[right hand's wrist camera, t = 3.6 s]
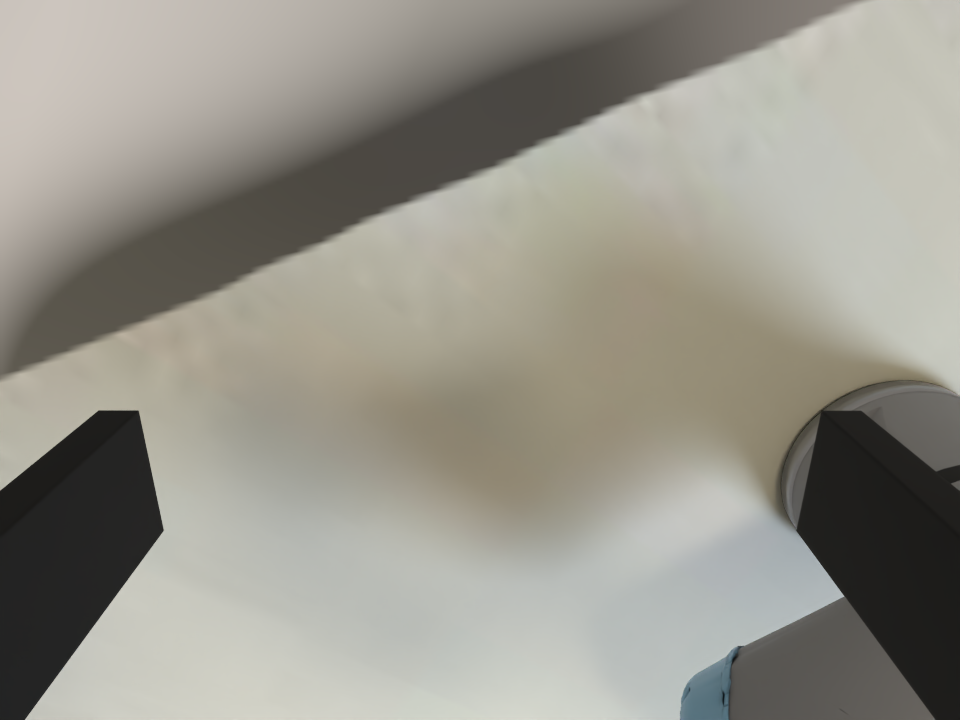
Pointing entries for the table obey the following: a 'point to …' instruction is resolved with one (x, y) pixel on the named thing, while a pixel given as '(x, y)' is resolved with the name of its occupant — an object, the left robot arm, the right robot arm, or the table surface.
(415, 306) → the table surface
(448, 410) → the table surface
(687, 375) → the table surface
